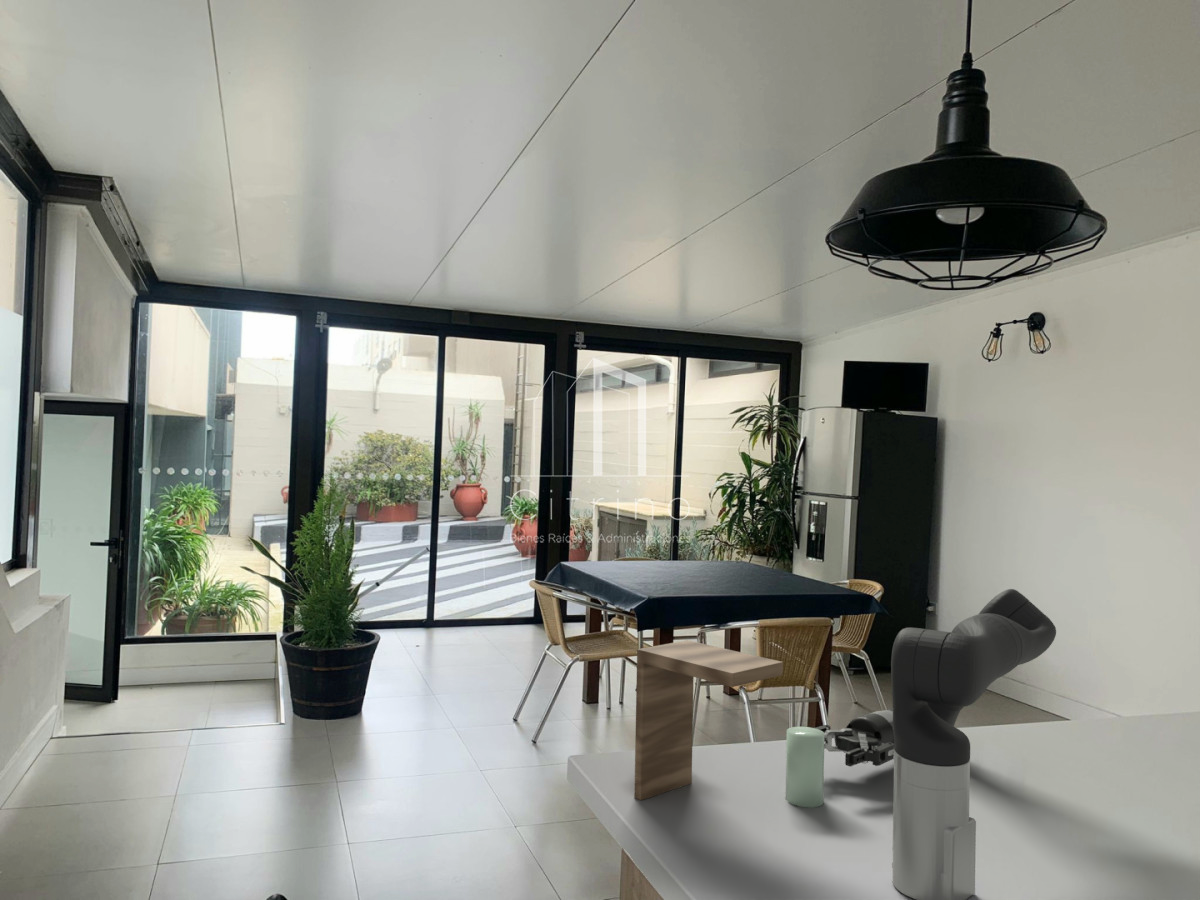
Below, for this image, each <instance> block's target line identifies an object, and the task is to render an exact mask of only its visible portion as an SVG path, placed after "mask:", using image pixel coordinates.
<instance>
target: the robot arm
mask: <svg viewBox="0 0 1200 900" xmlns="http://www.w3.org/2000/svg"><path fill="white" fill-rule="evenodd" d="M1056 637H1057V628H1056V626H1055V624H1054V622H1053V621H1052V620H1051V619H1050V618H1049V617H1048V616H1047V615H1046V614H1045V613H1044V612H1043V611H1042V610H1040V608H1038V607H1037V606H1036V605H1035V604H1033V603H1032V602H1031V601H1030V600H1029V599H1028V598H1027V597H1026V596H1025V595H1023V594H1022V593H1021V592H1020V591H1019V590H1017V589H1014V588H1009V589H1006V590H1003V591H1001V592H1000V593H999V594H997V595H995V596H994V597H993V598H992V599H991V600H990V601H988V602H987V603H986V604H985V605H984V606H983V608H982V609H981V610H980V611H979V613H978V614H974V615H972V616H970V617H967V618H965V619H963V620H962V621H960V622H959V623H957V625H955V626H954V627H953V629H952V631H943V630H937V629H928V628H927V629H926V628H920V627H919V628H918V627H905V628H902V629H901V630H900V631H899V632H898V633H897V635H896V636H895V638H894V642H893V645H892V650H891V661H890V673H891V674H890V678H891V680H890V681H891V694H892V696H891V697H892V698H891V699H892V700H891V701H892V707H891V708H888V709H885V710H876V711H874V712H870V713H866V714H865V715H860V716H858V717H855V718H853V719H852V720H851V721H849V723H848V724H847V726H846V727H845V728H844V727H843V728H841V729H832V728H831V725H829V724H824V725H820V726H816V727H814V728H815V729H818V730H821V731H823V732H824V750H826V751H828V752H829V753H830V752H834V753H835V752H839V753H840V752H841V753H842V752H843V753H845V755H844V756H845V758H844V759H845V761H844V764H845V766H848V767H853V766H855V765H858V764H864V765H866V764H869V762H870V763H871V762H872V765H873V766H875V767H878V766H881V765H884V764H886V763H888V762H890V761H892V760H893V799H892V801H893V802H892V803H893V806H892V813H893V815H892V818H893V819H892V863H891V866H892V867H891V868H892V884H893V886H894V887H895V889H896V890H898V891H899V892H901V893H902V894H903V895H905V896H907V897H909V898H912V899H914V900H967V899H969V898H970V897H972V896H973V895H975V894H976V849H977V848H976V845H977V844H976V841H977V834H976V833H977V821H976V819H975V818H973V817H970V793H971V792H970V784H971V783H970V781H971V779H970V778H971V776H970V775H971V773H970V772H971V742H970V739H969V737H968V736H967V734H966V733H964V732H963V731H962V730H960V729H958V728H957V727H956V722H957V719H958V716H959V714H960V713H961V711H962V710H963V708H964V707H968V706H971V705H972V704H974V703H976V702H977V701H978V700H979V699H980V698H981V697H982V695H983V694H984V693H985V691H986V690H987V689H988V687H989V686H991V684H992V683H994V682H995V681H996V680H997V679H999V678H1002V677H1004V676H1005V675H1007V674H1008V673H1010V672H1011V671H1013V670H1014V669H1016V668H1017V667H1018V666H1020V665H1024V664H1027V663H1029V662H1032V661H1033V660H1035V659H1037V658H1038V657H1040V656H1042V654H1044V653H1046V651H1047V650H1048V649H1049V648H1050V647H1051V646H1052V644H1053V643H1054V641H1055V638H1056ZM832 739H834V745H832V744H833V740H832Z"/></svg>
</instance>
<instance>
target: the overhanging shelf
mask: <svg viewBox="0 0 1200 900" xmlns="http://www.w3.org/2000/svg"><path fill="white" fill-rule="evenodd" d="M783 673H784V662H783V661H780V660H776V659H771V658H767V657H763V656H758V655H754V654H749V653H746V652H741V651H736V650H733V649H728V648H724V647H720V646H719V647H718V646H714V645H710V644H706V643H701V642H697V641H692V640H688V639H687V640H682V641H675V642H670V643H664V644H658V645H653V646H648V647H643V648H642V647H641V648H637V649H636V686H635V689H636V691H635V695H636V697H635V704H636V705H635V744H634V745H635V747H634V748H635V752H634V753H635V754H634V794H633V795H634V797H633V798H634V799H636V800H639V801H643V800H646V799H648V798H652V797H654V796H658V795H661V794H663V793H667V792H671V791H672V790H675V789H679V788H682V787H685V786H688V785H691V784H692V782H693V777H692V775H693V729H694V727H693V726H694V725H693V723H694V678H697V679H701V680H704V681H708V682H712V683H715V684H719V685H723V686H727V687H730V688H734V687H738V686H742V685H746V684H750V683H755V682H759V681H764V680H767V679H772V678H776V677H780V676H783V675H784V674H783Z"/></svg>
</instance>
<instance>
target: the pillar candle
mask: <svg viewBox="0 0 1200 900" xmlns="http://www.w3.org/2000/svg"><path fill="white" fill-rule="evenodd" d="M815 728H816V727H810V726H792V727H789V728H787V729H786V741H785V744H786V749H785V754H786V755H785V800H787V801H788V802H787V801H786V802H787V803H788V804H791V805H792V806H796V805H797V806H796V807H799V808H800V807H802V808H817V807H820V806H823V805H824V795H825V794H824V786H825V784H824V783H825V782H824V780H825V779H824V778H825V774H824V773H825V749H824V744H825V742H824V732H823V731H821V730H818V729H815Z"/></svg>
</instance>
